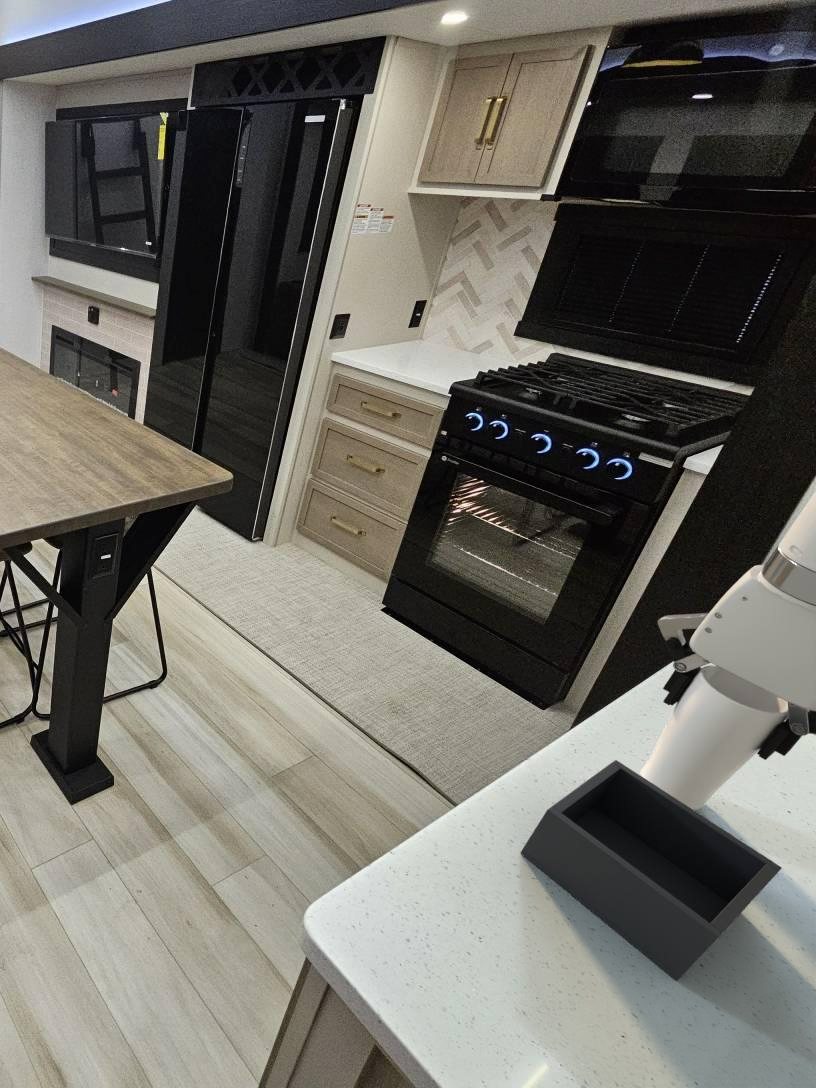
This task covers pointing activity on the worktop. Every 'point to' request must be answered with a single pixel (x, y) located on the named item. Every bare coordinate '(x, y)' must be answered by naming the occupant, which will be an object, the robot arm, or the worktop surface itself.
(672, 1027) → the worktop surface
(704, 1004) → the worktop surface
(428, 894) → the worktop surface
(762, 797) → the worktop surface
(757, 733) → the white cup
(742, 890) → the bin
